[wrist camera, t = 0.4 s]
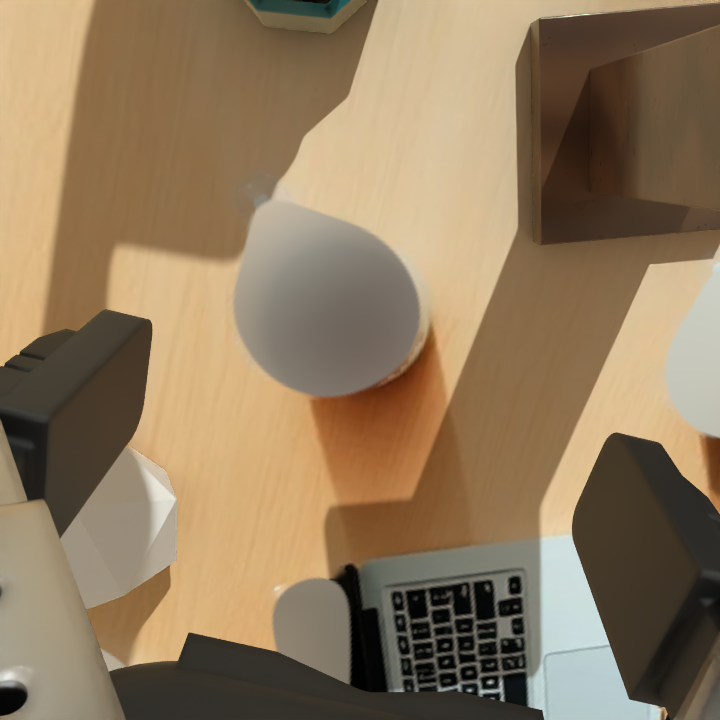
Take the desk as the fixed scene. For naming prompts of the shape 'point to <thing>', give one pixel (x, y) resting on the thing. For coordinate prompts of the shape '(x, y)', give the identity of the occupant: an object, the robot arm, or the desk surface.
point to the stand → (626, 123)
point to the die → (123, 530)
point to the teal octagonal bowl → (304, 14)
